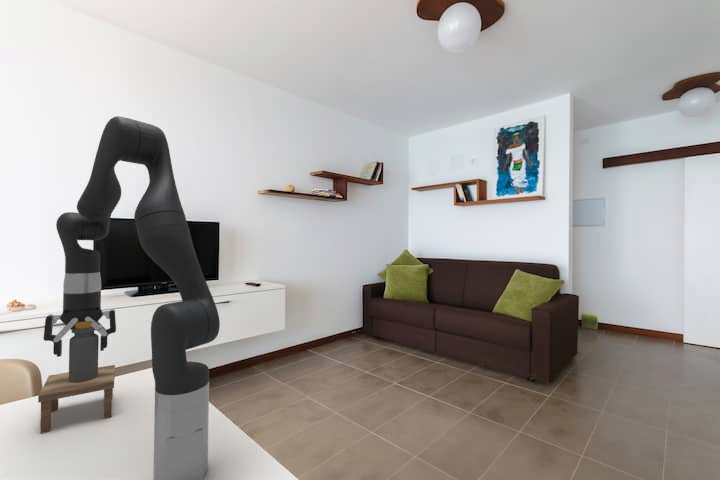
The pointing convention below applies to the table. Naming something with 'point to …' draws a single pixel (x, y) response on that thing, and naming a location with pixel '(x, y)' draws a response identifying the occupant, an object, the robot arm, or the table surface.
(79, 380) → the bottle
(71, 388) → the wooden bench
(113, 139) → the robot arm
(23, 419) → the table surface
